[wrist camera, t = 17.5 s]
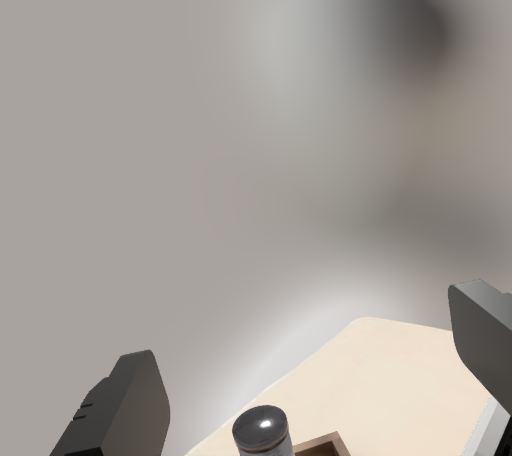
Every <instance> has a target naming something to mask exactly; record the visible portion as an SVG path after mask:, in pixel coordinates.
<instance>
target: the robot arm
mask: <svg viewBox="0 0 512 456" xmlns="http://www.w3.org/2000/svg"><path fill="white" fill-rule="evenodd" d="M448 299H449V307H450V314H451V322H452V330H453V337H454V343H455V346H456V349H457V352H458V354H459V356H460V358H461V360H462V362H463V363H464V364H465V366H466V367H467V368H468V369H469V370H470V371H471V372H472V373H473V374H474V376H475V377H476V378H477V379H478V380H479V381H480V382H481V383H482V385H483V386H484V387H485V388H486V389H487V390H488V391H489V392H490V393H491V395H492V396H493V397H494V398H495V399H496V400H497V401H498V402H499V403H500V405H501V406H502V407H503V408H504V409H505V410H506V411H507V412H508V414H509V415H510V416H511V417H512V294H510V293H501V292H500V291H498V290H497V289H495V288H494V287H492V286H491V285H489V284H488V283H486V282H485V281H483V280H481V279H478V280H472V281H468V282H463V283H459V284H454V285H450V286H449V288H448ZM169 423H170V406H169V401H168V397H167V394H166V391H165V388H164V385H163V381H162V378H161V376H160V372H159V369H158V366H157V363H156V360H155V357H154V355H153V353H152V351H150V350H145V351H140V352H135V353H131V354H126V355H122V356H121V357H120V358H119V360H118V361H117V363H116V365H115V367H114V368H113V370H112V372H111V374H110V375H109V377H106V378H104V379H102V380H101V381H100V382H99V383H98V384H97V385H96V386H95V387H94V388H93V389H92V390H90V391H89V393H88V394H87V396H86V397H85V399H84V401H83V402H82V404H81V406H80V409H78V410H77V412H76V414H75V415H74V417H73V421H71V422H70V424H69V425H68V427H67V428H66V430H65V432H64V433H63V435H62V436H61V438H60V440H59V441H58V443H57V444H56V446H55V448H54V449H53V451H52V452H51V454H50V456H161V452H162V448H163V445H164V442H165V438H166V435H167V431H168V427H169Z"/></svg>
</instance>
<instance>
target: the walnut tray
mask: <svg viewBox="0 0 512 456" xmlns="http://www.w3.org/2000/svg"><path fill="white" fill-rule="evenodd" d="M293 450H294V454H295V456H351V455H350V454H349V452H348V450H347V448H346V446H345V445H344V443H343V441H342V439H341V437H340V436H339V434H338V432H337V431H336V432H333V433H330V434H327V435H324V436H321V437H318V438H315V439H313V440H310V441H307V442H304V443H301V444H298V445H295V446H293Z"/></svg>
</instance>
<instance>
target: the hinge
mask: <svg viewBox="0 0 512 456" xmlns="http://www.w3.org/2000/svg"><path fill="white" fill-rule="evenodd" d="M504 448H505V449H507V450H508V451H509V452H510V453H509V456H512V417H511V416H510V415H509V414H508V412H507V411H506V410H505V409H504V408H503V407H502V406H501V405H500V403H499V402H498V401H497V400H496V399H495V398H494V397H493V396H492V395H490V397H489V399H488V401H487V403H486V405H485V408H484V410H483V412H482V414H481V416H480V418H479V420H478V422H477V424H476V426H475V428H474V430H473V432H472V434H471V436H470V438H469V440H468V442H467V444H466V446H465V448H464V450H463V452H462V454H461V456H501V455H502V452H503V450H504Z"/></svg>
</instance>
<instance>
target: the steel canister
mask: <svg viewBox="0 0 512 456" xmlns="http://www.w3.org/2000/svg"><path fill="white" fill-rule="evenodd" d="M232 433H233V437H234V440H235V444H236V446H237V447H238V450H239V453H240V456H295V454H294V450H293V446H292V442H291V438H290V434H289V426H288V422H287V418H286V415H285V413H284V412H283V411H282V410H281V409H280V408H278V407H275V406H270V405H263V406H257V407H254V408H251V409H249V410H247V411H246V412H244V413H243V414H241V415H240V416H239V417H238V418H237V419H236V421H235V423H234V425H233V428H232Z"/></svg>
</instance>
